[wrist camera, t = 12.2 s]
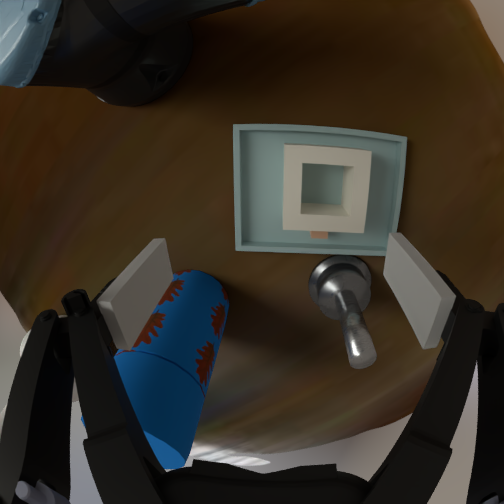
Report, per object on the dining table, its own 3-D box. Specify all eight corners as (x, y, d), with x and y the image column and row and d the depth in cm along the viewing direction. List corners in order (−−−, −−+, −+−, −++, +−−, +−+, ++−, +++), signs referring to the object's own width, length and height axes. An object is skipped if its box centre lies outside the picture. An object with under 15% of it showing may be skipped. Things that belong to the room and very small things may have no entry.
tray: (235, 124, 31) (233, 124, 29) (400, 136, 29) (407, 137, 27) (238, 244, 37) (235, 250, 35) (387, 250, 35) (391, 256, 34)
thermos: (216, 261, 39) (146, 418, 16) (239, 322, 43) (206, 474, 20) (151, 276, 41) (59, 403, 18) (178, 330, 45) (121, 460, 22)
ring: (284, 142, 31) (284, 144, 26) (358, 148, 30) (371, 151, 25) (282, 231, 35) (282, 247, 31) (351, 234, 35) (361, 250, 30)
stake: (311, 252, 37) (326, 324, 23) (375, 255, 36) (416, 322, 22) (305, 308, 40) (312, 388, 27) (363, 309, 40) (390, 384, 26)
